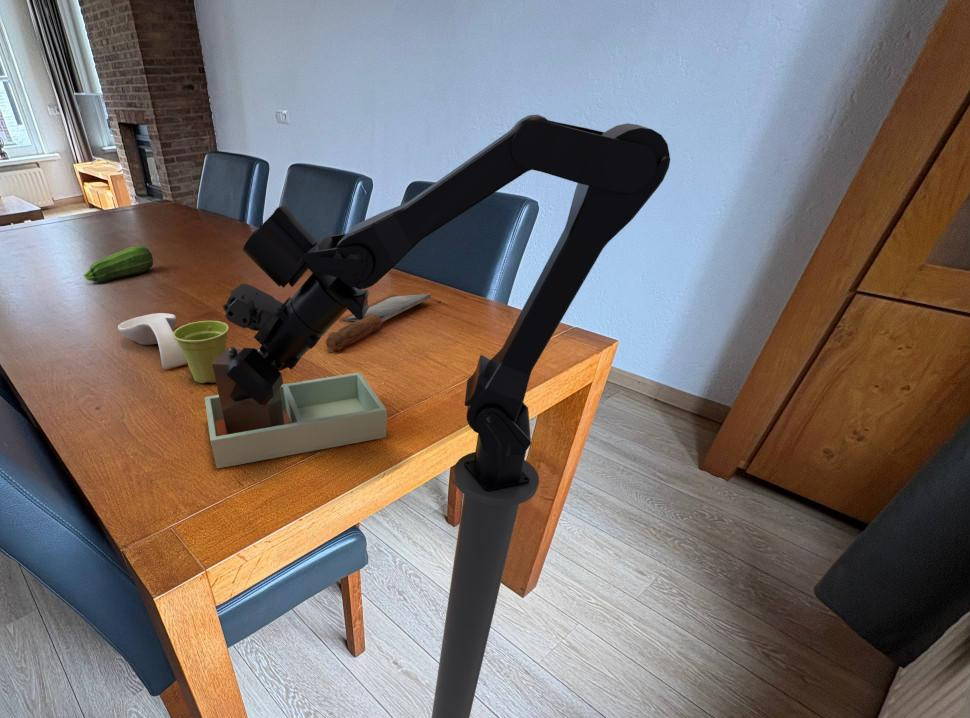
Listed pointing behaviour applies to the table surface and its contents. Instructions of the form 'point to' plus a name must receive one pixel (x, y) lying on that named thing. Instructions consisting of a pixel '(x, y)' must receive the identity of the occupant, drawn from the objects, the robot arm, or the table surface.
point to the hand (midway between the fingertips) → (240, 389)
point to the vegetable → (121, 264)
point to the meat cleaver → (372, 320)
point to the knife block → (244, 401)
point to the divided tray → (303, 421)
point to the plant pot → (202, 346)
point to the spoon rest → (156, 336)
